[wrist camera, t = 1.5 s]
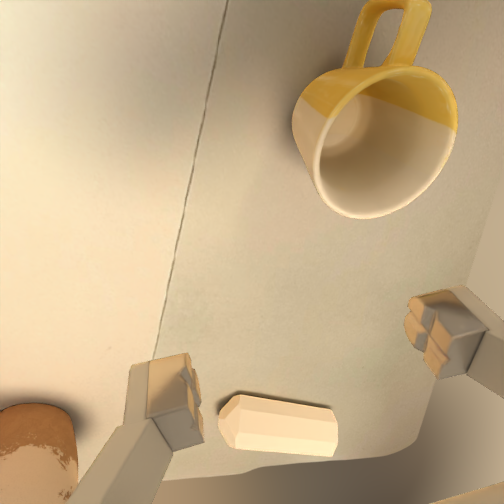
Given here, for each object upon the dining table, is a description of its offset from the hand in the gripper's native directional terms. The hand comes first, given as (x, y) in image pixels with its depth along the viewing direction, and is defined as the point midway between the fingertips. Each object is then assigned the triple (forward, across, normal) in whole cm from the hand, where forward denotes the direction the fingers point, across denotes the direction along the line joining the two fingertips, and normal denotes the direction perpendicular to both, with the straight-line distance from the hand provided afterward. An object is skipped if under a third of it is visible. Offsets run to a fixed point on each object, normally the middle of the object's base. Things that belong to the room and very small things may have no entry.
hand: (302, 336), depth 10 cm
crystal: (+24, -1, +50) cm, 56 cm away
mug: (+24, -11, 0) cm, 27 cm away
